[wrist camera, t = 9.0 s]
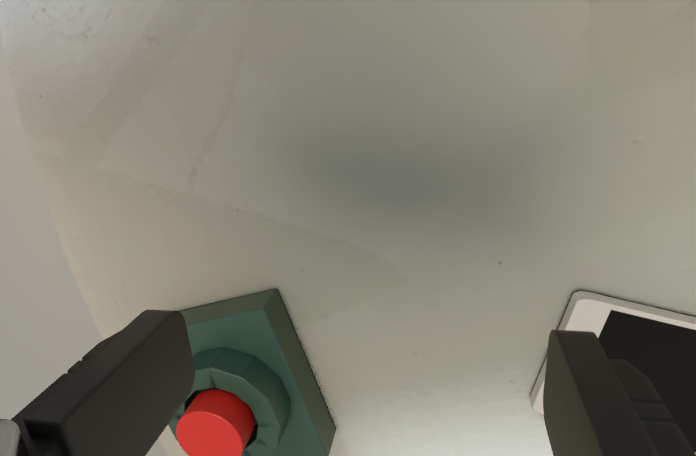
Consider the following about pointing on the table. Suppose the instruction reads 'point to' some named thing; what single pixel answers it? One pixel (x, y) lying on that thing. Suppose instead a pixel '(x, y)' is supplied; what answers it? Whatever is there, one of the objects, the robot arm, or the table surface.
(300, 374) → the button block
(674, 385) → the smartphone
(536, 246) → the table surface
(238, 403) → the stop button
